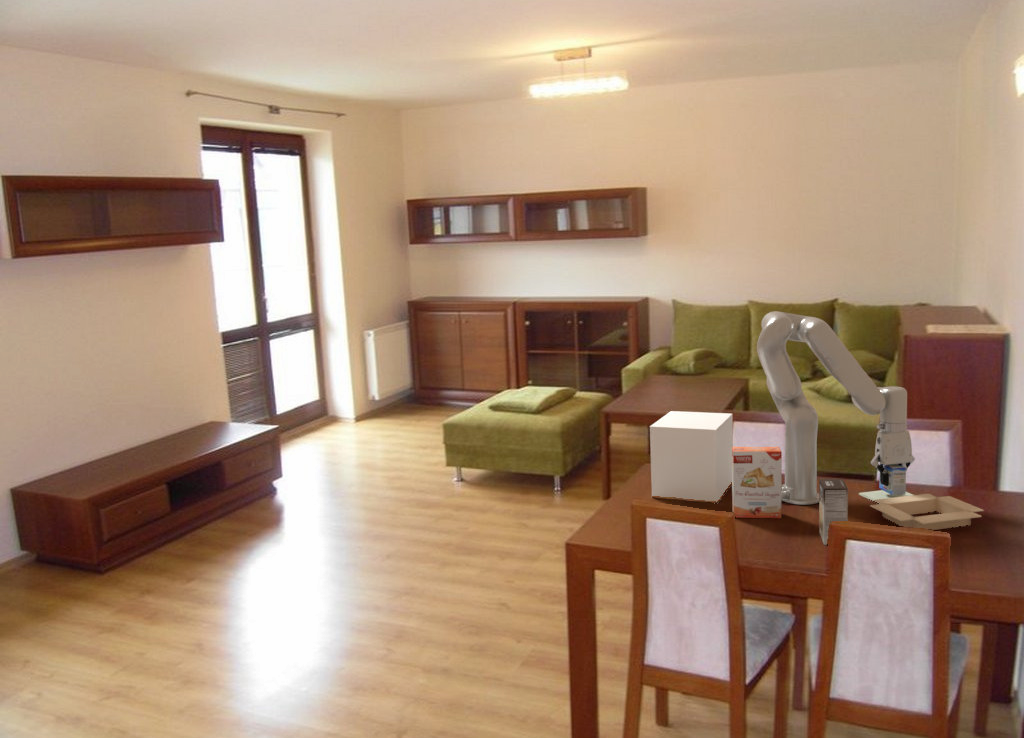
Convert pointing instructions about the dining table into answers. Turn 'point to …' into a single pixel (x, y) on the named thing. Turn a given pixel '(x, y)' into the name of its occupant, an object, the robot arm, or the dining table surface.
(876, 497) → the sage board
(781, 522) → the dining table surface
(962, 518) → the carton
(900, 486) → the medicine box
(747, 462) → the cracker box
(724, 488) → the cube
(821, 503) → the coffee box
